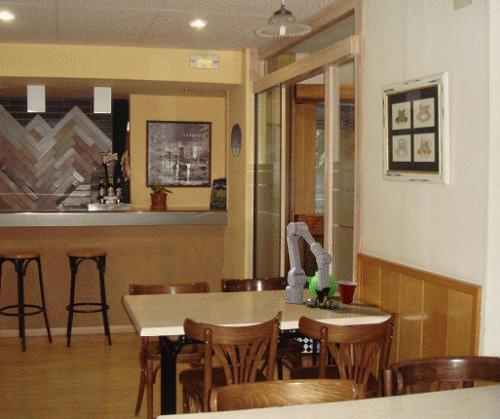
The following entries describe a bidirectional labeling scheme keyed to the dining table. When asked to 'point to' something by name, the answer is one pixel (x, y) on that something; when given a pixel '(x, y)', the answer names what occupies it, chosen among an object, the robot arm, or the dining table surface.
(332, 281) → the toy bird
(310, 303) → the grey metal fittings
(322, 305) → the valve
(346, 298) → the plastic cup
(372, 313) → the dining table surface
